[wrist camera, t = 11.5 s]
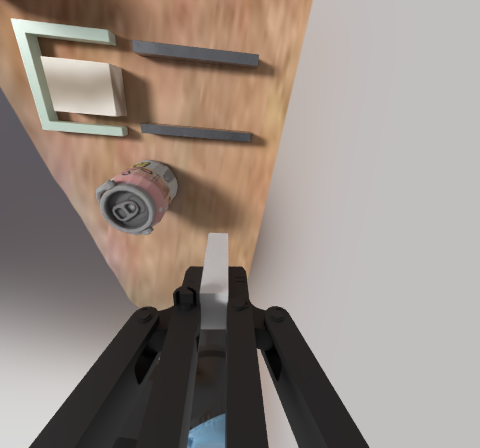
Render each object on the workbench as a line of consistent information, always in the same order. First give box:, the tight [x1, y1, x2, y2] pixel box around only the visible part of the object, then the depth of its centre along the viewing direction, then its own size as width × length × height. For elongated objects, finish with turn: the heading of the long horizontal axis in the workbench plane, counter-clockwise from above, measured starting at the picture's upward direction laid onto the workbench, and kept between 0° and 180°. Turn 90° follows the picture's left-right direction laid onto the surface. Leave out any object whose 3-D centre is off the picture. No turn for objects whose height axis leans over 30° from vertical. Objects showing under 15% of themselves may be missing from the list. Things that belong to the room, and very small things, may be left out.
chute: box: [132, 40, 259, 142], centre depth 32 cm, size 11×16×2 cm
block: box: [40, 56, 127, 116], centre depth 31 cm, size 6×8×4 cm
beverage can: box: [96, 160, 178, 235], centre depth 34 cm, size 9×8×12 cm
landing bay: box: [11, 19, 128, 136], centre depth 31 cm, size 12×11×2 cm
